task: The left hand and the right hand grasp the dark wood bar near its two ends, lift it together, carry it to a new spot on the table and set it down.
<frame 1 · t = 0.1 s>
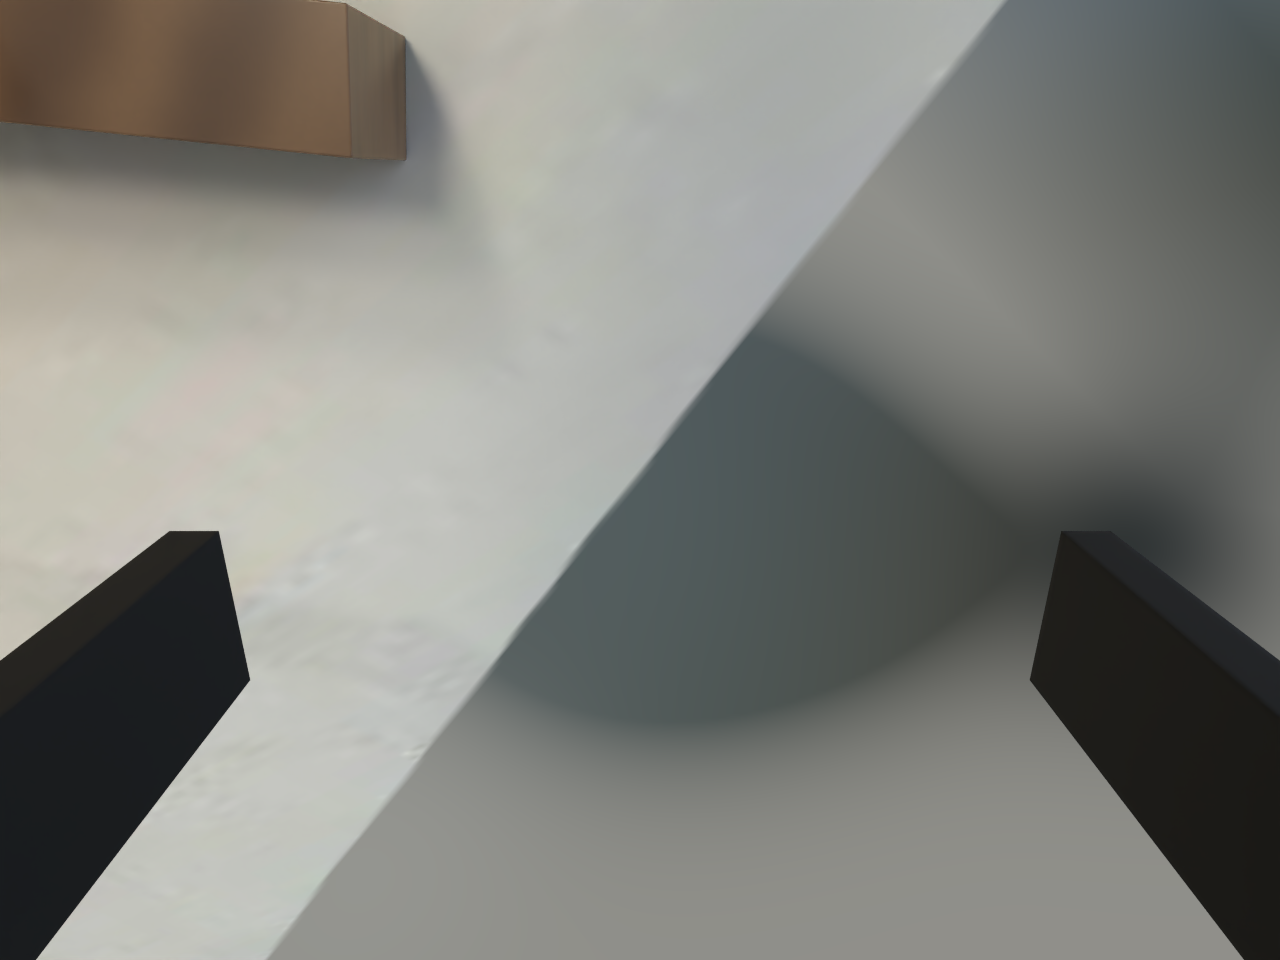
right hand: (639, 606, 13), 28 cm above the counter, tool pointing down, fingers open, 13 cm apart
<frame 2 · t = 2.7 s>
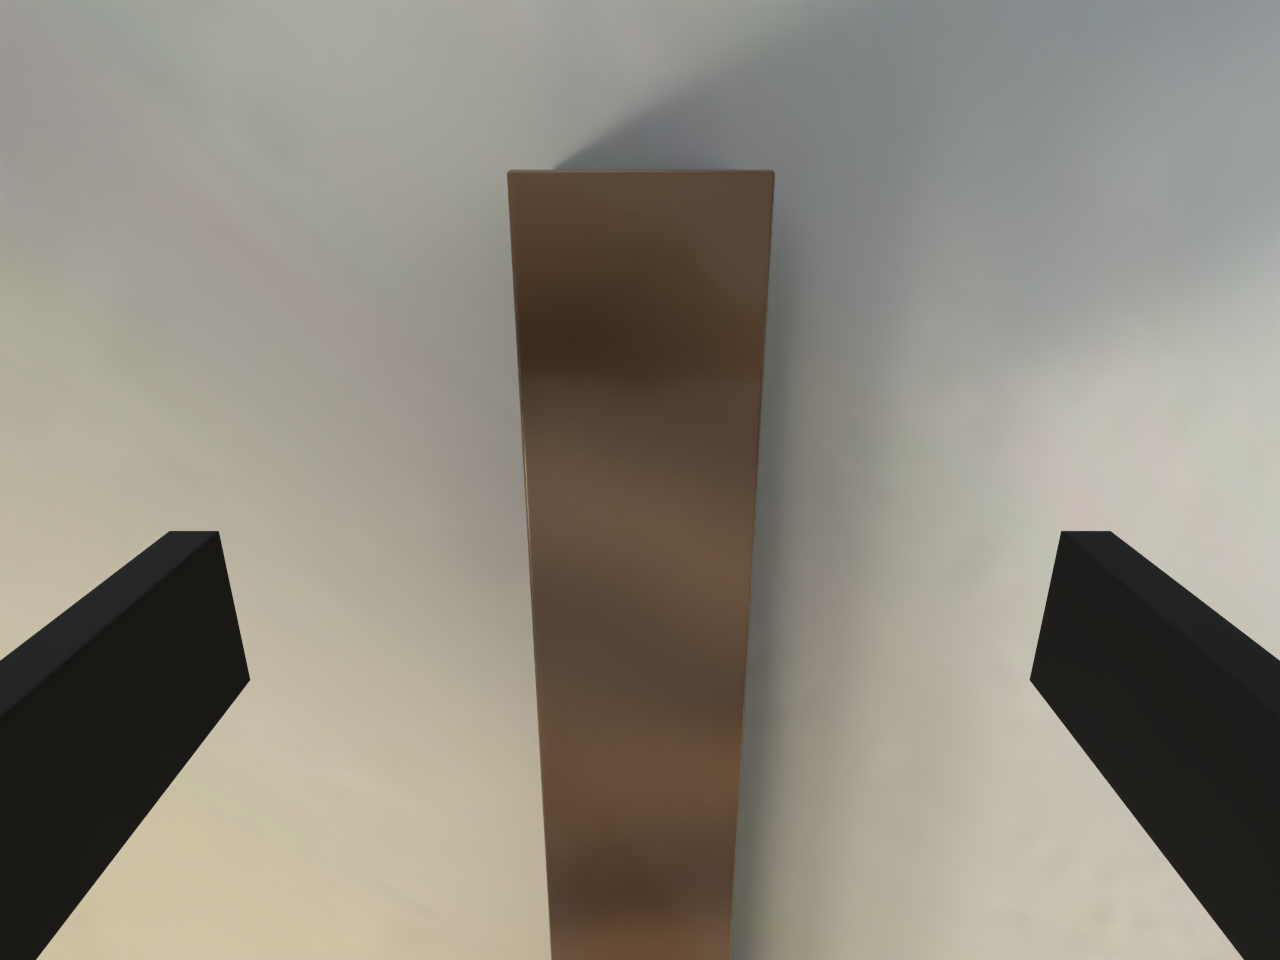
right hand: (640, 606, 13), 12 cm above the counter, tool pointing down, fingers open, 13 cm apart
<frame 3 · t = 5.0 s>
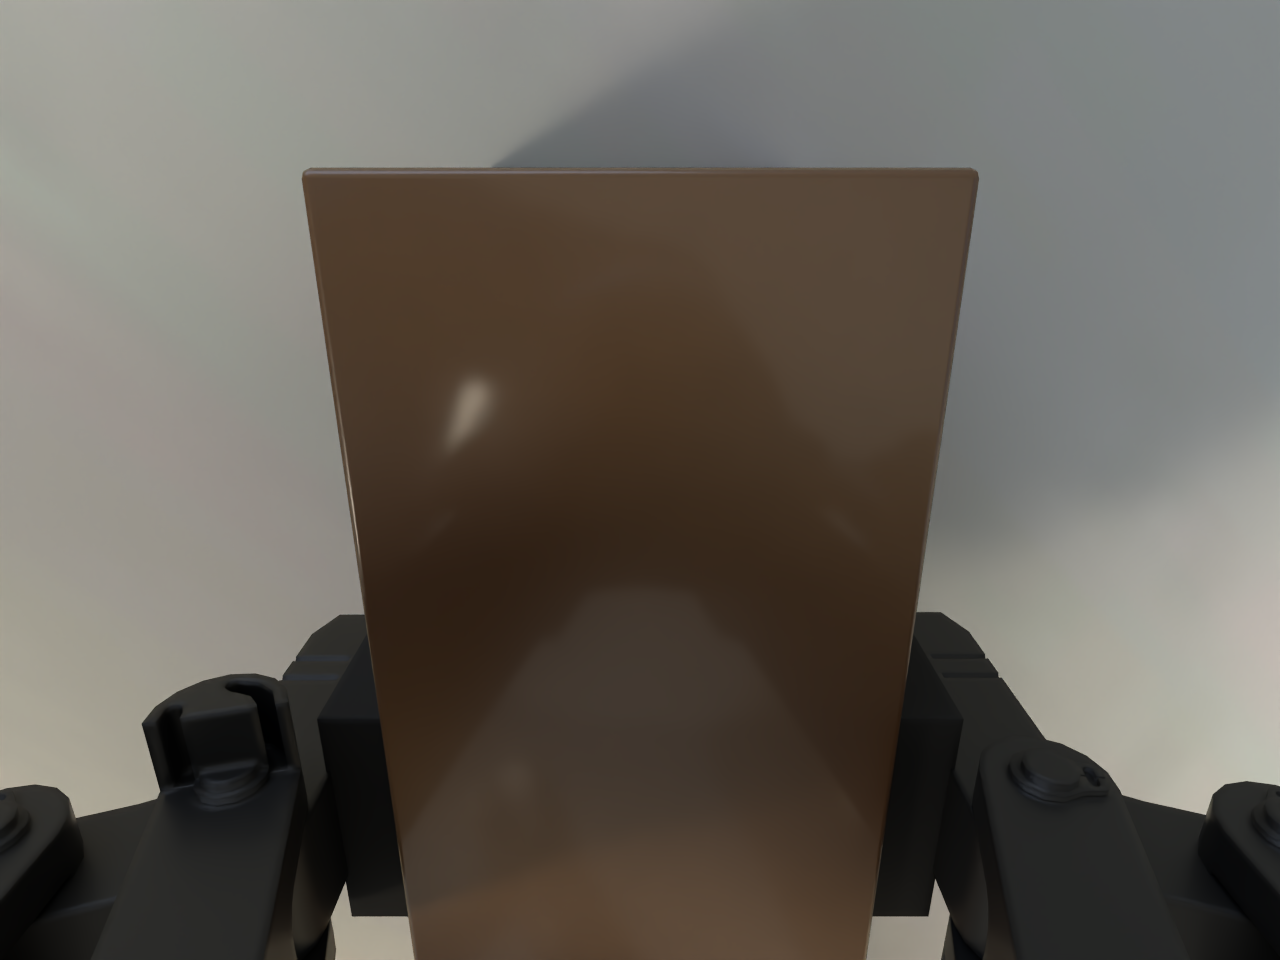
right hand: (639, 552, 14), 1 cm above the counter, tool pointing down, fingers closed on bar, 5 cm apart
when the right hand's fingers open (2 cm above the counter, at t = 8.6 s): bar drops 2 cm, on the counter.
when the left hand's fingers open (4 cm above the counter, at t = 8.8 s): bar stays where it is, on the counter.
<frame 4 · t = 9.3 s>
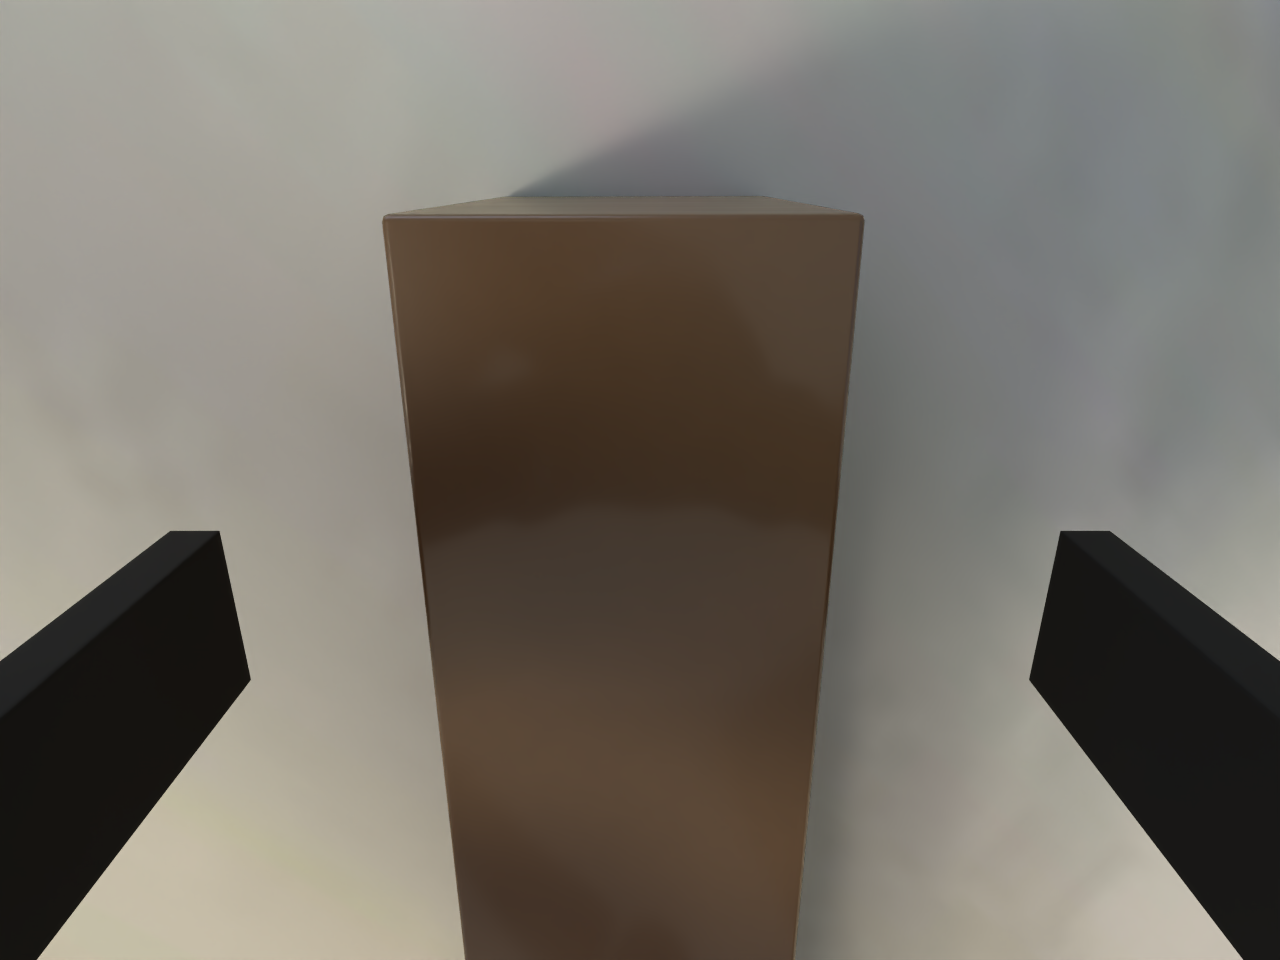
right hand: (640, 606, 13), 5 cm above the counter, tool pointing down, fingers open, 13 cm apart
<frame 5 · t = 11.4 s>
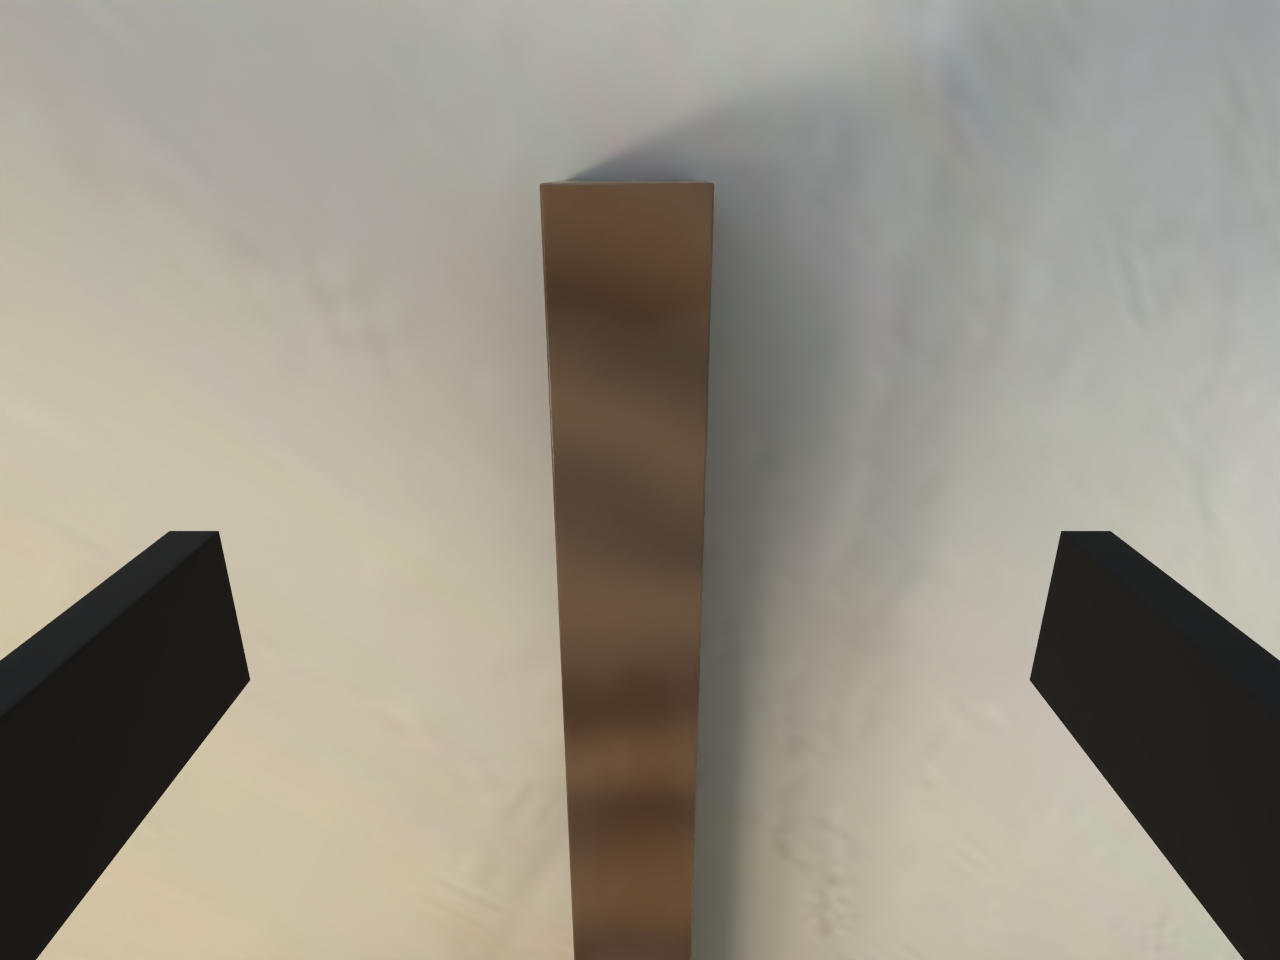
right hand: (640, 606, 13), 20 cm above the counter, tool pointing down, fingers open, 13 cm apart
bar: (633, 820, 41), on the counter
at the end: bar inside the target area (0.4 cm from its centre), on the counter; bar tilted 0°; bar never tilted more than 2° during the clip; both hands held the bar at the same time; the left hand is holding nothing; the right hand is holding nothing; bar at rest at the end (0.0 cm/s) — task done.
